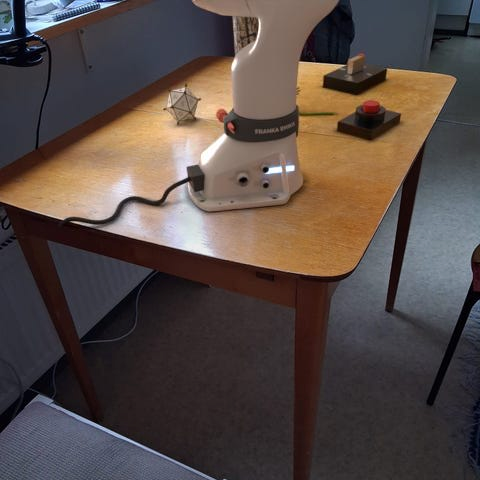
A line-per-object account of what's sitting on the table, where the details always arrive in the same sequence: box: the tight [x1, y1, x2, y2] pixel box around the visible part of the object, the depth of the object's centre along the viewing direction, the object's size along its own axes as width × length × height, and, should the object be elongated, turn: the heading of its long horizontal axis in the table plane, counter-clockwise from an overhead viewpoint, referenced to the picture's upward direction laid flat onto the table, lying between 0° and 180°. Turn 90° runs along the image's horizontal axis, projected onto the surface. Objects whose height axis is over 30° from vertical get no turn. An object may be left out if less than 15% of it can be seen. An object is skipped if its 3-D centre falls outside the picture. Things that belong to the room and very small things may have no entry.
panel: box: [322, 63, 388, 96], centre depth 131 cm, size 14×11×3 cm
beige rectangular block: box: [347, 53, 366, 75], centre depth 129 cm, size 6×2×4 cm, turn 136°
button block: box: [336, 104, 402, 141], centre depth 109 cm, size 12×9×4 cm
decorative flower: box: [296, 86, 335, 116], centre depth 118 cm, size 8×6×15 cm
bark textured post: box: [232, 16, 259, 57], centre depth 107 cm, size 7×7×25 cm
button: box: [362, 99, 381, 113], centre depth 107 cm, size 4×4×2 cm
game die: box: [162, 82, 202, 126], centre depth 117 cm, size 9×8×10 cm
